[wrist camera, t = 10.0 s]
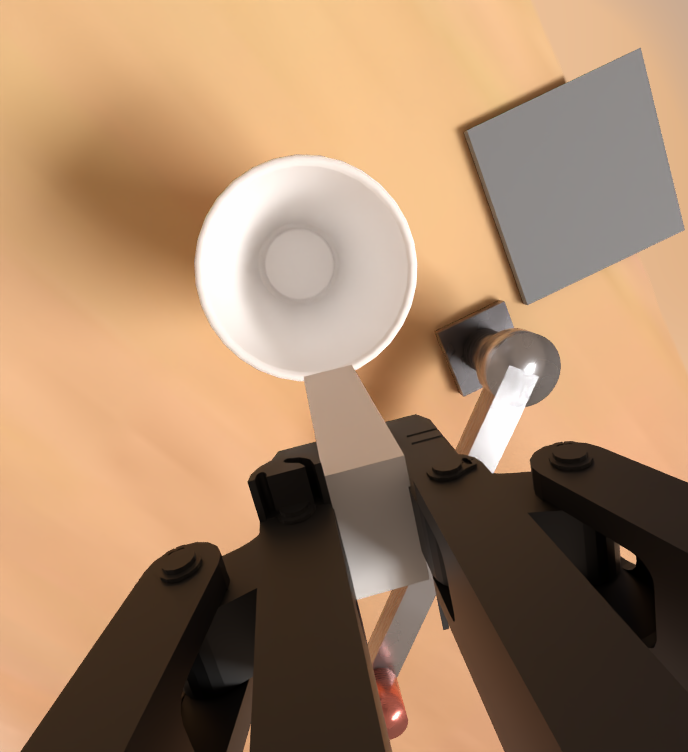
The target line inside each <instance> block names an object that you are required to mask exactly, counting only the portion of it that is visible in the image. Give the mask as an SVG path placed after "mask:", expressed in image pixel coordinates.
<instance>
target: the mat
mask: <svg viewBox="0 0 688 752" xmlns="http://www.w3.org/2000/svg"><path fill="white" fill-rule="evenodd" d="M464 135H465V137H466V140H467V143H468V146H469V149H470V152H471V155H472V157H473V160H474V163H475V166H476V169H477V172H478V175H479V178H480V180H481V183H482V186H483V189H484V192H485V195H486V198H487V200H488V203H489V206H490V209H491V212H492V215H493V218H494V220H495V223H496V226H497V229H498V232H499V235H500V238H501V241H502V243H503V246H504V249H505V252H506V255H507V258H508V261H509V263H510V266H511V269H512V272H513V275H514V278H515V281H516V283H517V286H518V289H519V292H520V295H521V298H522V301H523V304H526V305H529V304H531V303H533V302H535V301H537V300H539V299H541V298H543V297H545V296H548V295H550V294H552V293H554V292H556V291H558V290H560V289H562V288H564V287H566V286H568V285H571V284H573V283H575V282H577V281H579V280H581V279H583V278H585V277H587V276H589V275H591V274H594V273H596V272H598V271H600V270H602V269H604V268H606V267H608V266H610V265H612V264H614V263H617V262H619V261H621V260H623V259H625V258H627V257H629V256H631V255H633V254H635V253H637V252H640V251H642V250H644V249H646V248H648V247H650V246H652V245H654V244H656V243H658V242H660V241H663V240H665V239H667V238H669V237H671V236H673V235H675V234H677V233H679V232H681V231H683V230H685V229H684V225H683V221H682V216H681V213H680V209H679V204H678V200H677V196H676V192H675V188H674V183H673V179H672V176H671V171H670V167H669V163H668V159H667V155H666V151H665V146H664V142H663V138H662V134H661V130H660V126H659V122H658V118H657V113H656V109H655V105H654V101H653V97H652V93H651V89H650V84H649V81H648V77H647V72H646V68H645V64H644V60H643V56H642V52H641V48H639V49H637V50H635V51H633V52H631V53H628V54H626V55H624V56H622V57H620V58H618V59H616V60H614V61H612V62H610V63H607V64H606V65H603V66H601V67H599V68H597V69H595V70H593V71H591V72H589V73H587V74H584V75H582V76H580V77H578V78H576V79H574V80H572V81H570V82H568V83H565V84H563V85H561V86H559V87H557V88H555V89H553V90H551V91H549V92H547V93H544V94H542V95H540V96H538V97H536V98H534V99H532V100H530V101H528V102H526V103H523V104H521V105H519V106H517V107H515V108H513V109H511V110H509V111H507V112H505V113H502V114H500V115H498V116H496V117H494V118H492V119H490V120H488V121H486V122H484V123H481V124H479V125H477V126H475V127H473V128H471V129H469V130H467V131H465V132H464Z"/></svg>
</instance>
